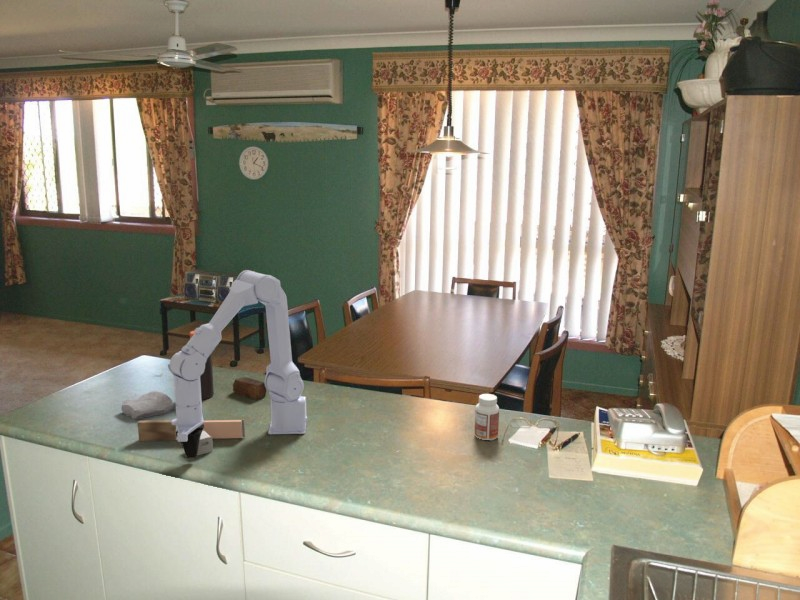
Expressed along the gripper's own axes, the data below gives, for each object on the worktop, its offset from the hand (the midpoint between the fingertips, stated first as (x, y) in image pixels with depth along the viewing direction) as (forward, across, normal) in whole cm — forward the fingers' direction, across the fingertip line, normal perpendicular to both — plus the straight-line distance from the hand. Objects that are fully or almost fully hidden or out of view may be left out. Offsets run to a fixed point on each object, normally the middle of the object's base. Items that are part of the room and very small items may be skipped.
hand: (191, 456), depth 147 cm
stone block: (+2, -31, -19) cm, 36 cm away
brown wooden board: (+1, -12, -11) cm, 17 cm away
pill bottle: (+2, -11, +73) cm, 74 cm away
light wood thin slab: (+1, -12, +2) cm, 13 cm away
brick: (+2, -43, +7) cm, 43 cm away
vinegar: (+2, -42, -7) cm, 43 cm away
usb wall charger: (+2, -7, 0) cm, 7 cm away
